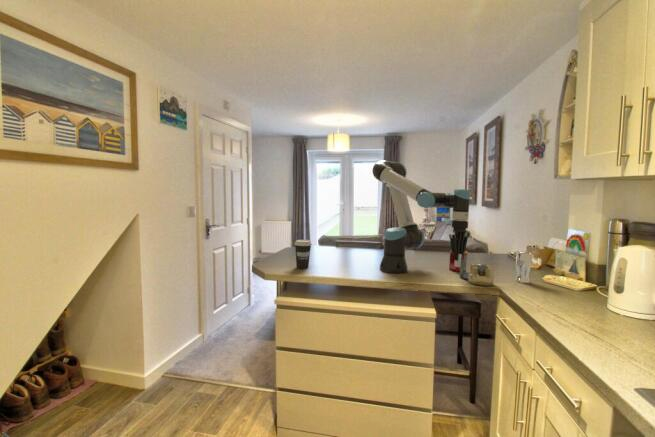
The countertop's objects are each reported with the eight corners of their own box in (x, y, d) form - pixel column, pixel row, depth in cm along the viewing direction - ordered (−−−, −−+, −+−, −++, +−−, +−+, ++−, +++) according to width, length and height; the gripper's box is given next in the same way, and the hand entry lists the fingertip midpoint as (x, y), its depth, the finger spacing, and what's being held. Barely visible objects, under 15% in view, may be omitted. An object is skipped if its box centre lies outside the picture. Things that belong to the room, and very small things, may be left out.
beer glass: (530, 284, 160) (532, 254, 159) (513, 281, 164) (516, 252, 162) (530, 281, 166) (532, 252, 165) (514, 279, 170) (516, 250, 168)
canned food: (465, 272, 181) (466, 252, 180) (450, 271, 182) (451, 251, 182) (462, 269, 188) (463, 250, 188) (448, 268, 190) (449, 249, 189)
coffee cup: (290, 268, 178) (291, 241, 176) (298, 264, 186) (299, 239, 185) (306, 270, 174) (307, 242, 173) (313, 266, 183) (314, 240, 182)
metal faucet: (498, 284, 156) (500, 256, 155) (482, 287, 151) (484, 257, 150) (467, 275, 172) (469, 250, 171) (452, 277, 168) (453, 251, 167)
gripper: (458, 221, 157) (455, 269, 158) (474, 220, 163) (471, 267, 165) (445, 219, 163) (442, 266, 165) (461, 219, 170) (459, 264, 171)
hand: (457, 266), depth 165 cm, fingers closed
